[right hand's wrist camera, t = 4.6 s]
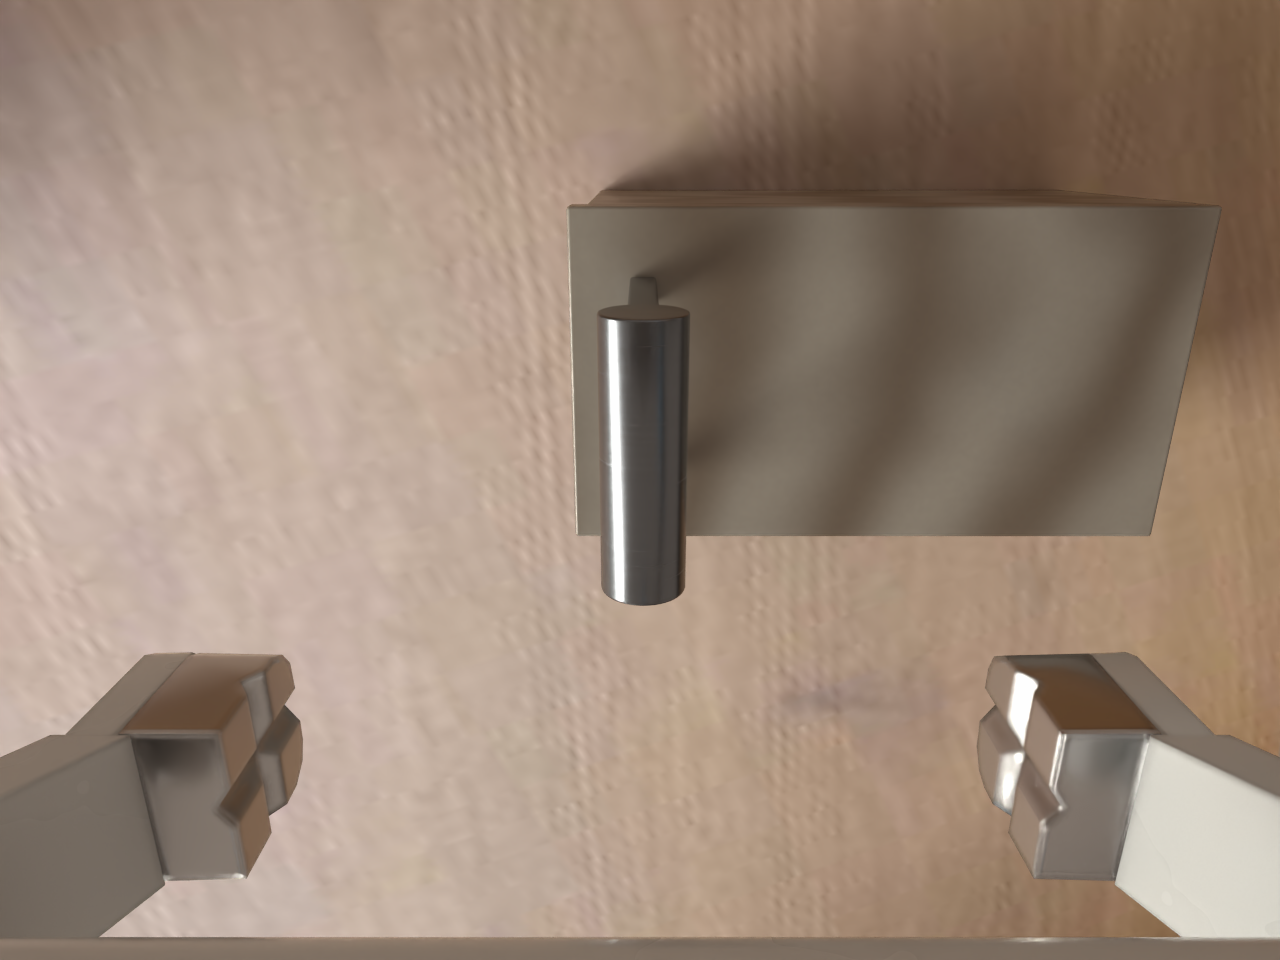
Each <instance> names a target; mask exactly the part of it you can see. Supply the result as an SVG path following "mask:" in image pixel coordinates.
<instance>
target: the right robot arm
mask: <svg viewBox="0 0 1280 960" xmlns="http://www.w3.org/2000/svg"><path fill="white" fill-rule="evenodd" d="M294 689H295V686H294V681H293V676H292V671H291V666H290V663H289V661H288V660H287V659H286V658H285V657H284V656H283V655H268V654H217V653H198V654H195V653H192V652H190V653H154V654H149V655H144V656H143V657H142V658H141V659H140V660H139V661H138V662H137V663H136V664H135V665H134V666H133V667H132V668H131V669H130V670H129V671H128V672H127V673H126V674H125V675H124V676H123V677H122V678H121V679H120V680H119V681H118V682H117V683H116V684H115V685H114V686H113V687H112V688H111V689H110V690H109V691H108V692H107V693H106V694H105V695H104V696H103V697H102V698H101V699H100V700H99V701H98V702H97V703H96V704H95V705H94V706H93V707H92V708H91V709H90V710H89V711H88V712H87V713H86V714H85V715H84V717H83V718H82V719H81V720H80V721H79V722H78V723H77V724H76V725H75V726H74V727H73V728H72V729H71V730H70V731H69V732H68V733H67V734H66V735H50V736H47V737H45V738H43V739H41V740H38V741H36V742H34V743H32V744H29V745H27V746H25V747H23V748H20V749H18V750H16V751H14V752H12V753H9V754H7V755H5V756H3V757H0V960H1280V757H1277V756H1275V755H1273V754H1271V753H1268V752H1266V751H1264V750H1262V749H1259V748H1257V747H1255V746H1253V745H1251V744H1248V743H1246V742H1244V741H1242V740H1239V739H1237V738H1235V737H1233V736H1230V735H1215V734H1214V733H1213V732H1212V731H1211V730H1210V729H1209V728H1208V727H1207V726H1206V725H1205V724H1204V723H1203V722H1202V721H1201V720H1200V719H1199V718H1198V717H1197V716H1196V715H1195V714H1194V713H1193V712H1192V711H1191V710H1190V709H1189V708H1188V707H1187V706H1186V705H1185V704H1184V703H1183V702H1182V701H1181V700H1180V699H1179V698H1178V697H1177V696H1176V695H1175V694H1174V693H1173V692H1172V691H1171V690H1170V689H1169V688H1168V687H1167V686H1166V685H1165V684H1164V683H1163V682H1162V681H1161V680H1160V679H1159V678H1158V677H1157V676H1156V675H1155V674H1154V673H1153V672H1152V671H1151V670H1150V669H1149V668H1148V667H1147V666H1146V665H1145V664H1144V663H1143V662H1142V661H1141V660H1140V659H1139V658H1138V657H1137V656H1134V655H1132V654H1129V653H1126V652H1116V653H1091V654H1055V655H1015V656H994V658H993V660H992V662H991V664H990V667H989V669H988V674H987V680H986V686H985V689H986V690H987V692H988V693H989V695H990V697H991V698H992V700H993V701H994V703H995V706H994V707H993V708H992V709H991V710H990V711H989V712H988V713H987V714H986V715H985V716H984V717H983V718H982V719H981V720H980V724H979V732H978V741H977V753H978V763H979V771H980V775H981V778H982V781H983V784H984V788H985V790H986V792H987V793H988V795H989V797H990V799H991V801H992V803H993V804H994V805H995V806H997V807H998V808H1000V809H1001V810H1003V811H1005V812H1006V813H1008V814H1009V815H1011V821H1010V826H1009V832H1008V833H1009V835H1010V836H1011V838H1012V840H1013V842H1014V844H1015V846H1016V847H1017V849H1018V851H1019V853H1020V855H1021V856H1022V858H1023V860H1024V862H1025V864H1026V865H1027V867H1028V869H1029V871H1030V873H1031V875H1032V876H1033V878H1034V879H1066V880H1103V881H1115V885H1116V886H1117V887H1119V888H1120V889H1121V890H1122V891H1124V892H1125V893H1126V894H1127V895H1129V896H1130V897H1131V898H1133V899H1134V900H1135V901H1136V902H1138V903H1139V904H1140V905H1141V906H1143V907H1144V908H1145V909H1146V910H1148V911H1149V912H1150V913H1152V914H1153V915H1154V916H1155V917H1157V918H1158V919H1159V920H1160V921H1162V922H1163V923H1164V924H1166V925H1167V926H1168V927H1169V928H1171V929H1172V930H1173V931H1174V932H1176V933H1177V934H1178V935H1179V936H1181V937H100V936H101V935H102V934H103V933H105V932H106V931H107V930H108V929H110V928H111V927H112V926H114V925H115V924H116V923H117V922H119V921H120V920H121V919H122V918H124V917H125V916H126V915H127V914H129V913H130V912H131V911H133V910H134V909H135V908H136V907H138V906H139V905H140V904H141V903H143V902H144V901H145V900H147V899H148V898H149V897H150V896H152V895H153V894H154V893H155V892H157V891H158V890H159V889H161V888H162V887H163V886H164V885H165V881H177V880H212V879H246V878H247V877H248V875H249V873H250V871H251V869H252V867H253V866H254V864H255V862H256V860H257V858H258V857H259V855H260V853H261V851H262V849H263V847H264V846H265V844H266V842H267V840H268V838H269V836H270V835H271V833H272V832H271V826H270V820H269V815H271V814H272V813H274V812H275V811H277V810H279V809H280V808H282V807H283V806H285V805H286V804H287V803H288V801H289V799H290V797H291V795H292V793H293V791H294V789H295V787H296V785H297V781H298V777H299V773H300V769H301V764H302V757H303V738H302V731H301V724H300V720H299V719H298V718H297V717H296V716H295V715H294V714H293V713H292V712H291V711H290V710H289V709H288V708H287V707H286V706H285V703H286V701H287V700H288V698H289V697H290V695H291V693H292V692H293V690H294Z"/></svg>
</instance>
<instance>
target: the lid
mask: <svg viewBox="0 0 1280 960" xmlns="http://www.w3.org/2000/svg"><path fill="white" fill-rule="evenodd" d="M1221 210H1222V209H1221V207H1220V206H1217V205H1207V204H572V205H570V206H568V207H567V210H566V212H567V247H568V282H569V317H570V353H571V388H572V423H573V458H574V493H575V529H576V535H578V536H601V585H602V589H603V591H604V593H605V594H606V595H607V596H608V597H610V598H611V599H613V600H615V601H618V602H621V603H625V604H630V605H640V606H647V605H657V604H662V603H666V602H669V601H671V600H674V599H675V598H677V597H678V596H680V595H681V594H682V592H683V591H684V588H685V564H686V536H1150V534H1151V531H1152V526H1153V521H1154V517H1155V512H1156V508H1157V503H1158V499H1159V494H1160V489H1161V485H1162V480H1163V476H1164V471H1165V466H1166V462H1167V457H1168V453H1169V448H1170V444H1171V439H1172V434H1173V430H1174V425H1175V421H1176V416H1177V412H1178V407H1179V402H1180V398H1181V393H1182V389H1183V384H1184V379H1185V375H1186V370H1187V366H1188V361H1189V357H1190V352H1191V347H1192V343H1193V338H1194V334H1195V329H1196V324H1197V320H1198V315H1199V311H1200V306H1201V302H1202V297H1203V292H1204V288H1205V283H1206V279H1207V274H1208V269H1209V265H1210V260H1211V256H1212V251H1213V247H1214V242H1215V237H1216V233H1217V228H1218V224H1219V219H1220V214H1221Z"/></svg>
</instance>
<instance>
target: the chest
mask: <svg viewBox="0 0 1280 960" xmlns="http://www.w3.org/2000/svg"><path fill="white" fill-rule="evenodd" d="M589 204H1196V203H1186V202H1176V201H1165V200H1155V199H1145V198H1134V197H1124V196H1114V195H1103V194H1093V193H1082V192H1072V191H1062V190H602V191H600V193H599V194H598V195H597V196H596V197H595V198H594V199H593V200H592V201H591V202H590V203H589Z"/></svg>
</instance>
